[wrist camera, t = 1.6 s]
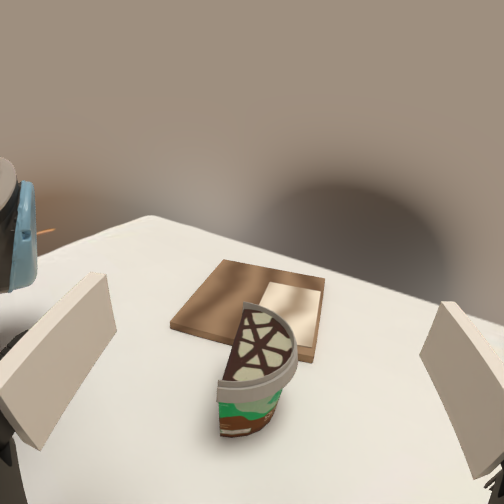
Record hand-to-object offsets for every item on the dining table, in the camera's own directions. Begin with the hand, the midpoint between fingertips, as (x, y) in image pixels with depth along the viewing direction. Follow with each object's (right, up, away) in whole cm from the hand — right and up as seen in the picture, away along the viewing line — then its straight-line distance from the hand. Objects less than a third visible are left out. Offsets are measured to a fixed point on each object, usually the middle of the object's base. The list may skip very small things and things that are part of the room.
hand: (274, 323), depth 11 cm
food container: (0, -14, +19) cm, 24 cm away
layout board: (0, -6, +38) cm, 38 cm away
